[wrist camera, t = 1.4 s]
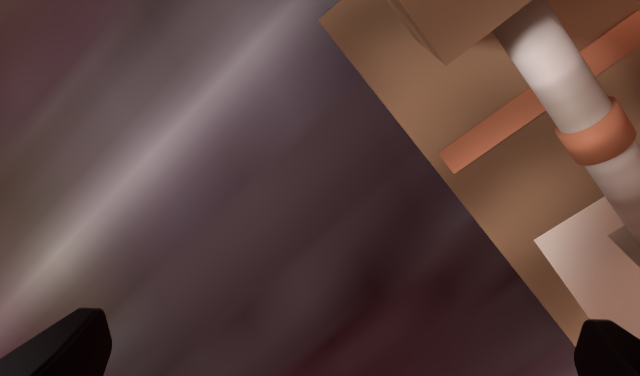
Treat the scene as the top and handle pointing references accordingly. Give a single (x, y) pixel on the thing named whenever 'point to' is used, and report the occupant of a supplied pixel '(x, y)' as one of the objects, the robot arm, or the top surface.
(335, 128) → the top surface
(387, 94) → the rod stand
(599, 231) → the tan rectangular block
